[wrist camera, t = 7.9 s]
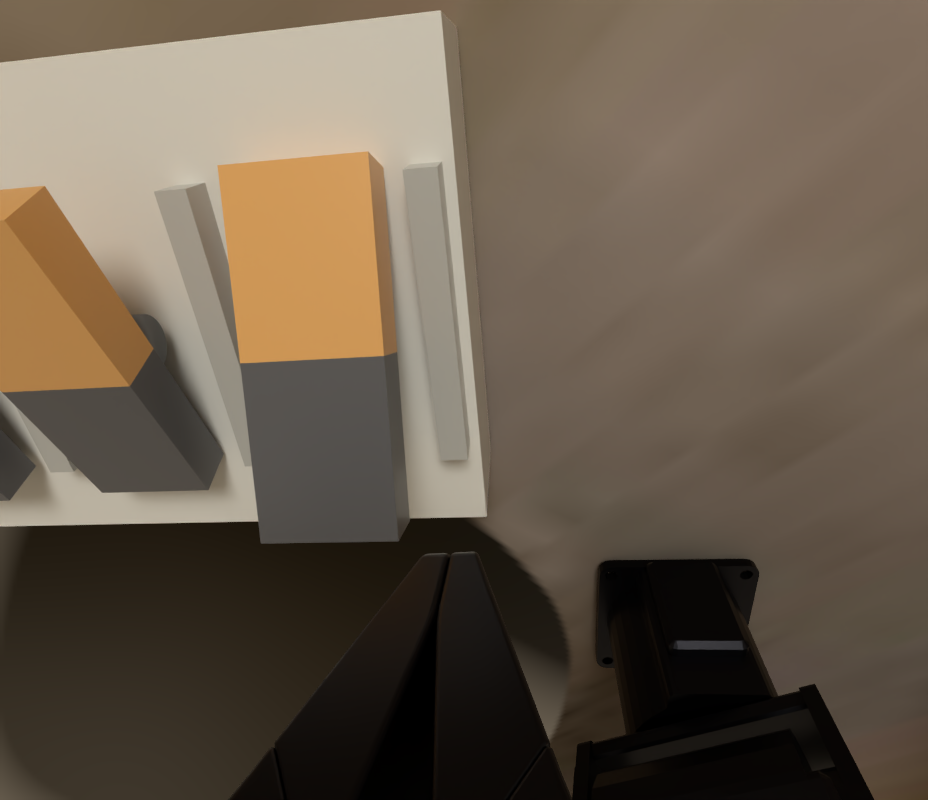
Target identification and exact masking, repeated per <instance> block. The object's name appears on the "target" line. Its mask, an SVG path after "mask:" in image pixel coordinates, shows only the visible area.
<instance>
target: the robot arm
mask: <svg viewBox="0 0 928 800" xmlns="http://www.w3.org/2000/svg"><path fill="white" fill-rule="evenodd" d="M743 571H746V572H743ZM608 572H614V573H608ZM758 577H759V571H758V569H757V567H756V565H755V563H754V562H753V561H751V560H748V559H706V560H614V561H605V562H603V563H602V564H601V565H600V566H599V569H598V596H597V629H596V659H597V663H598V664H599V665H600V666H602V667H605V668H615V672H616V678H617V684H618V690H619V695H620V701H621V707H622V713H623V718H624V724H625V730H626V735H623V736H619V737H615V738H611V739H607V740H603V741H599V742H595V743H593V742H592V741H588V742H584V743H580V744H578V745H577V755H576V766H575V771H574V784H573V797H572V798H571V795H570V793H569V790H568V788H567V786H566V783H565V781H564V778H563V776H562V773H561V770H560V768H559V765H558V762H557V760H556V757H555V754H554V752H553V749H552V748H551V747H550V742H549V739H548V737H547V735H546V732H545V729H544V726H543V724H542V721H541V718H540V716H539V713H538V711H537V708H536V705H535V702H534V700H533V697H532V695H531V692H530V689H529V687H528V684H527V681H526V679H525V676H524V673H523V671H522V668H521V666H520V663H519V660H518V658H517V655H516V652H515V650H514V647H513V645H512V642H511V639H510V637H509V634H508V631H507V629H506V626H505V623H504V621H503V618H502V616H501V613H500V610H499V608H498V605H497V603H496V600H495V597H494V595H493V592H492V589H491V587H490V584H489V581H488V578H487V576H486V573H485V571H484V568H483V565H482V563H481V560H480V557H479V555H478V554H477V553H476V552H457V553H453V554H452V555H451V556H450V555H449V554H447V553H438V554H426V555H423V556H422V557H421V558H420V559H419V560H418V562H417V563H416V564H415V565H414V567H413V568H412V569H411V570H410V572H409V573H408V574H407V575H406V577H405V578H404V579H403V581H402V582H401V583H400V584H399V586H398V587H397V588H396V589H395V591H394V592H393V593H392V595H391V596H390V597H389V598H388V600H387V601H386V602H385V603H384V605H383V606H382V607H381V608H380V610H379V611H378V612H377V613H376V615H375V616H374V617H373V619H372V620H371V621H370V622H369V624H368V625H367V626H366V627H365V629H364V630H363V631H362V632H361V634H360V635H359V636H358V637H357V639H356V640H355V641H354V642H353V644H352V645H351V646H350V648H349V649H348V650H347V651H346V653H345V654H344V655H343V656H342V658H341V659H340V660H339V662H338V663H337V664H336V666H335V667H334V668H333V669H332V670H331V672H330V673H329V674H328V676H327V677H326V678H325V679H324V680H323V682H322V683H321V684H320V686H319V687H318V688H317V689H316V691H315V692H314V693H313V694H312V696H311V697H310V698H309V700H308V701H307V702H306V703H305V705H304V706H303V707H302V708H301V710H300V711H299V712H298V713H297V715H296V716H295V717H294V718H293V720H292V721H291V722H290V724H289V725H288V726H287V727H286V729H285V730H284V731H283V732H282V734H281V735H280V736H279V737H278V739H277V740H276V741H275V748H272V747H271V748H270V749H269V750H268V751H267V752H266V754H265V755H264V756H263V757H262V759H261V760H260V761H259V762H258V764H257V765H256V766H255V767H254V769H253V770H252V771H251V772H250V774H249V775H248V776H247V777H246V779H245V780H244V781H243V782H242V783H241V785H240V786H239V787H238V788H237V789H236V791H235V792H234V793H233V794H232V795H231V797H230V798H229V799H228V800H874V798H873V796H872V794H871V792H870V790H869V789H868V787H867V785H866V783H865V781H864V779H863V777H862V775H861V773H860V771H859V769H858V767H857V765H856V763H855V761H854V759H853V757H852V755H851V753H850V751H849V750H848V748H847V746H846V744H845V742H844V740H843V738H842V736H841V734H840V732H839V730H838V728H837V726H836V724H835V722H834V720H833V718H832V716H831V714H830V712H829V711H828V709H827V707H826V705H825V703H824V701H823V699H822V697H821V695H820V693H819V691H818V689H817V687H816V685H815V684H812V685H808V686H804V687H800V688H799V690H800V691H797V692H793V693H789V694H785V695H781V696H778V694H777V692H776V690H775V688H774V685H773V683H772V681H771V678H770V676H769V674H768V671H767V669H766V667H765V665H764V662H763V660H762V658H761V655H760V653H759V651H758V648H757V646H756V644H755V641H754V639H753V637H752V635H751V632H750V630H749V628H748V624H749V619H750V615H751V610H752V605H753V601H754V596H755V591H756V587H757V582H758Z"/></svg>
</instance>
